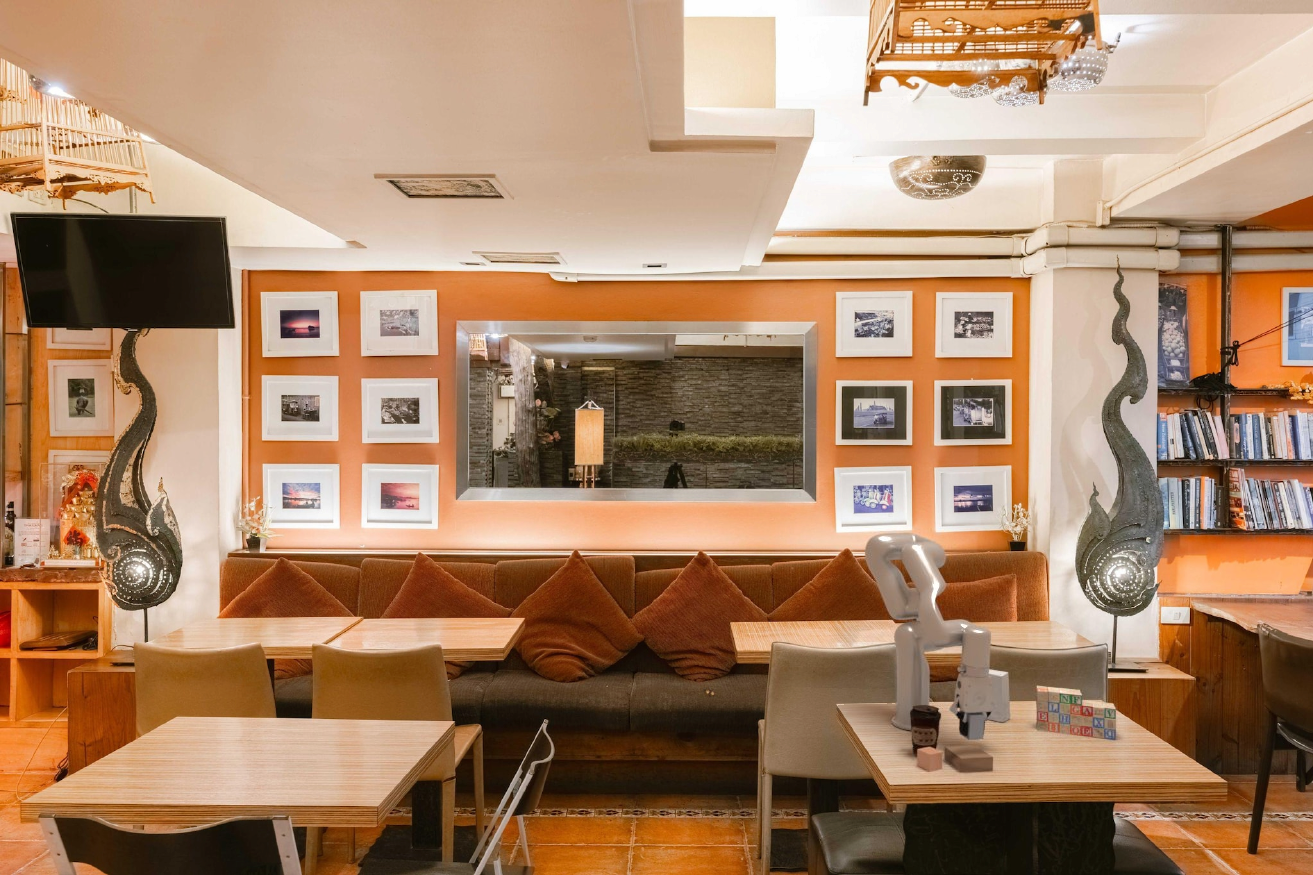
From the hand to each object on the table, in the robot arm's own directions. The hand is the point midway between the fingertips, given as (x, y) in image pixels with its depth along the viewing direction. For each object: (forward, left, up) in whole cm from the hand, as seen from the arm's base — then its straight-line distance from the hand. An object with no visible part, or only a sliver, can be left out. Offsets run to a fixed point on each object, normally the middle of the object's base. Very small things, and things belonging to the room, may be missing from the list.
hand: (971, 733), depth 240 cm
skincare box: (-23, +23, -5) cm, 33 cm away
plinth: (+11, -9, -5) cm, 15 cm away
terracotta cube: (+10, -20, -4) cm, 23 cm away
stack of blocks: (-6, +40, -5) cm, 41 cm away
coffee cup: (+2, -16, -5) cm, 17 cm away
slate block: (0, 0, -1) cm, 1 cm away
